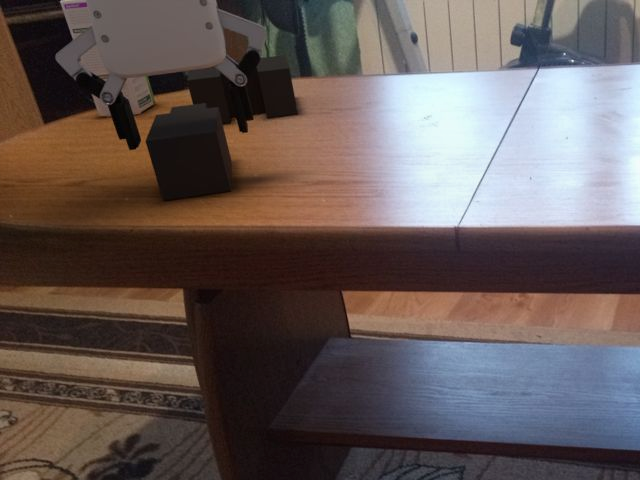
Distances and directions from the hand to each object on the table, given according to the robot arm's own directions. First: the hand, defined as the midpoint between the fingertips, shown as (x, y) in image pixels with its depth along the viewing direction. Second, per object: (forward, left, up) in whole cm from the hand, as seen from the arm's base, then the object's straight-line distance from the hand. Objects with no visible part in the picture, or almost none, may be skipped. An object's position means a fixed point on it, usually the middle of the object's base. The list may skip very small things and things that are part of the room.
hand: (190, 137), depth 67 cm
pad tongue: (0, +3, -5) cm, 6 cm away
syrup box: (-11, +39, -5) cm, 41 cm away
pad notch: (+5, +29, -5) cm, 30 cm away
